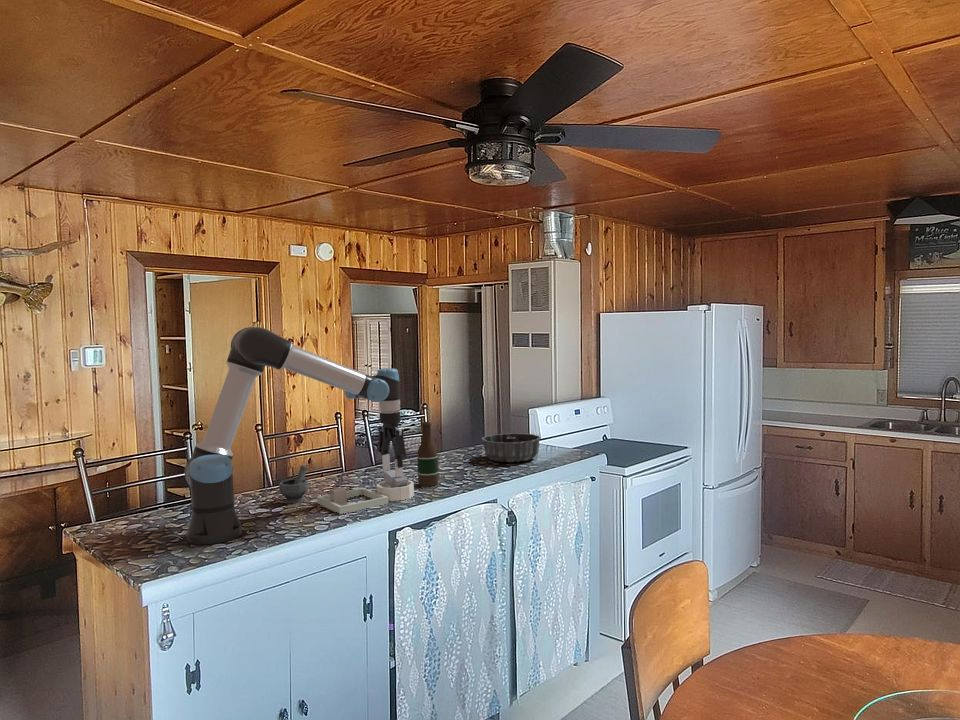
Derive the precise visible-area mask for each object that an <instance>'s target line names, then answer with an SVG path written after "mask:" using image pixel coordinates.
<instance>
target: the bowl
mask: <svg viewBox="0 0 960 720" xmlns="http://www.w3.org/2000/svg"><path fill="white" fill-rule="evenodd" d="M376 493H379V494H382V495H384V496H387V497H388V502H400V501H399V500H402V501H406V500H410V499H412V498H414V497H415V483H414V481H412V480H410V479H408V484H407V486H403V487H396V488H391V486H390V485H389V484H387V483H386V482H385V481H384V480H383V481H379V482H378V483H376ZM413 496H414V497H413ZM411 497H412V498H411ZM409 498H410V499H409ZM405 499H406V500H405Z"/></svg>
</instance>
